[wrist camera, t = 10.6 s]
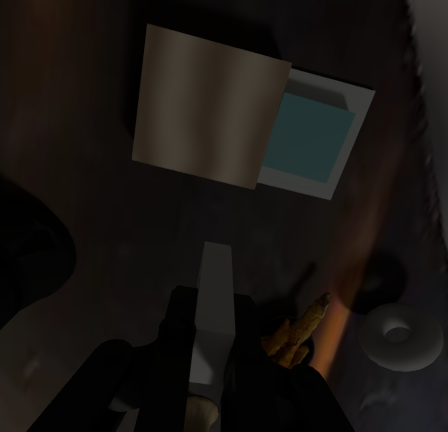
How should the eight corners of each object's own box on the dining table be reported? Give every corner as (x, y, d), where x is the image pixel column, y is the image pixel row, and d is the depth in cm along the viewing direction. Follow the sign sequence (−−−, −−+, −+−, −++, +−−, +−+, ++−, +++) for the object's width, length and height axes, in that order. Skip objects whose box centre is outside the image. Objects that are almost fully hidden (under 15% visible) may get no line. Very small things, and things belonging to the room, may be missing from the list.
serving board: (142, 153, 35) (131, 159, 31) (158, 32, 30) (147, 23, 26) (252, 180, 36) (254, 189, 32) (285, 67, 31) (292, 63, 27)
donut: (409, 286, 41) (460, 341, 32) (417, 303, 42) (467, 360, 33) (344, 313, 43) (373, 372, 34) (352, 328, 44) (383, 389, 35)
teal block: (259, 161, 34) (260, 165, 33) (281, 92, 31) (284, 91, 30) (321, 179, 35) (326, 183, 33) (349, 112, 32) (356, 113, 30)
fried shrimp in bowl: (218, 379, 43) (263, 327, 32) (249, 325, 51) (294, 267, 40) (269, 421, 41) (338, 381, 30) (293, 358, 49) (355, 307, 38)
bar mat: (254, 180, 36) (254, 181, 35) (287, 67, 31) (287, 67, 30) (329, 199, 36) (330, 200, 36) (373, 91, 31) (375, 91, 31)
